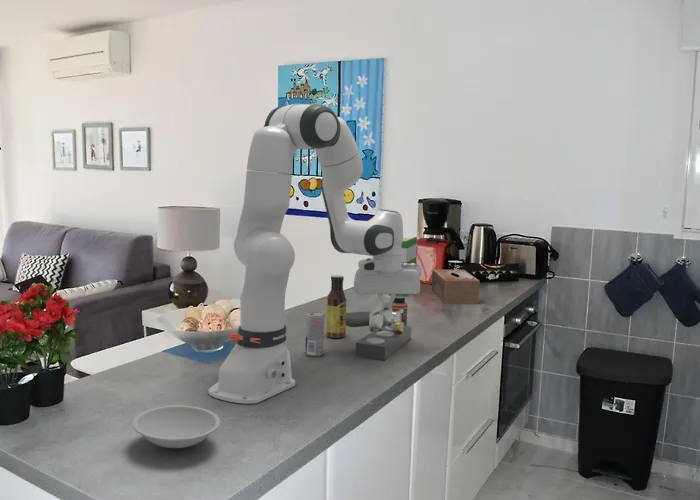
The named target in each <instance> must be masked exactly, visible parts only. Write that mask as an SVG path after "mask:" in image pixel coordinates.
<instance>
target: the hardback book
mask: <svg viewBox="0 0 700 500" xmlns="http://www.w3.org/2000/svg"><path fill="white" fill-rule="evenodd" d="M417 247H418V237H417V236H414V237H411V238H409V237H403V241H402V245H401V249H402V263H408V264H412V263H415V264H417V250H418V249H417ZM387 295H388V296H390V294H387ZM408 295H409V294H395V296H404V297H405V298H406V297H407V296H408Z"/></svg>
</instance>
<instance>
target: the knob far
mask: <svg viewBox="0 0 700 500" xmlns="http://www.w3.org/2000/svg"><path fill="white" fill-rule="evenodd" d="M400 316H401V312H400V311H397V310H395V311H394V310H392V326H388V328H390V329H394V322H400Z"/></svg>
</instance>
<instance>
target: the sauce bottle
mask: <svg viewBox="0 0 700 500" xmlns="http://www.w3.org/2000/svg"><path fill="white" fill-rule="evenodd" d="M330 279H331V281H330V282H331V286H330V291H329V293H328V294H327V302H326V303H327V304H326V329H325V330H326V336H327V337H328V338H330V339H340V338H344V337H346V332H347V331H346V327H347V325H346V313H347V297H346V295H345V292H344V276H343V275H341V274H339V275H338V274H336V275H331V277H330Z"/></svg>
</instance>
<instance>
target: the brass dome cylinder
mask: <svg viewBox="0 0 700 500" xmlns="http://www.w3.org/2000/svg"><path fill="white" fill-rule="evenodd" d="M403 330H404V323H403V322H394V333H397V334H401V333H403Z"/></svg>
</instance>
